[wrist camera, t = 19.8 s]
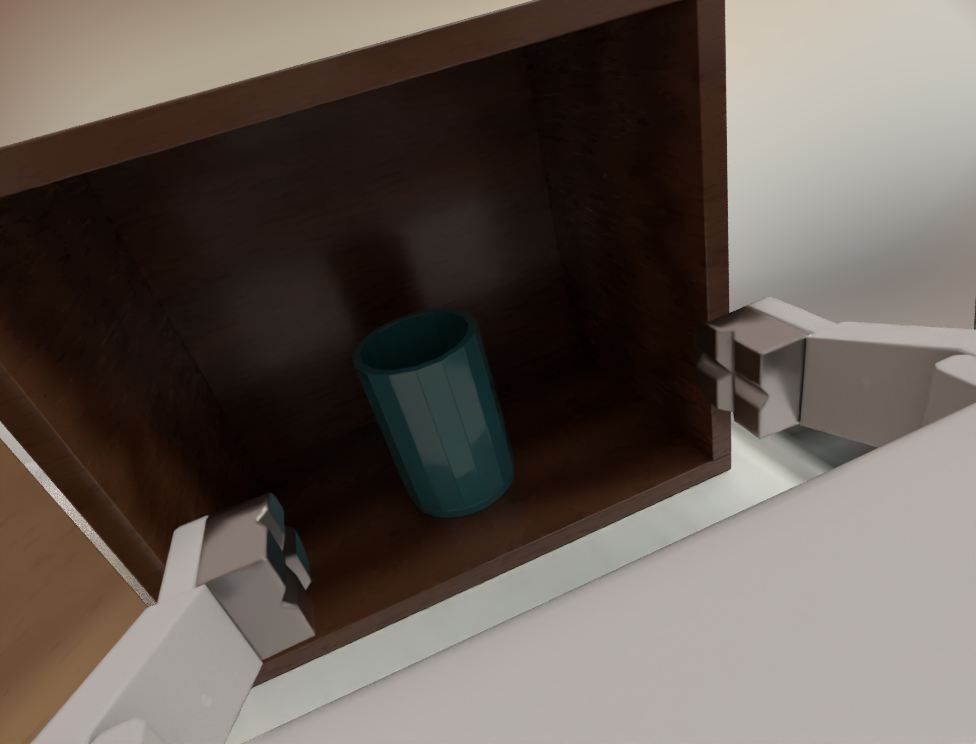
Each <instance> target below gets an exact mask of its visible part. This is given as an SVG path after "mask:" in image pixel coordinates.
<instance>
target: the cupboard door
mask: <svg viewBox="0 0 976 744" xmlns="http://www.w3.org/2000/svg"><path fill="white" fill-rule="evenodd" d="M146 608H148V606H147V605H146V604H145V603H144V601H143V600H142V599H141V598H140V597H139V596H138V595H137V593H136V592H135V591H134V590H133V589H132V588H131V587H130V585H129V584H128V583H127V582H126V581H125V580H124V579H123V577H122V576H121V575H120V574H119V573H118V572H117V571H116V569H115V568H114V567H113V566H112V565H111V564H110V563H109V561H108V560H107V559H106V558H105V557H104V556H103V555H102V554H101V552H100V551H99V550H98V549H97V548H96V547H95V546H94V544H93V543H92V542H91V541H90V540H89V539H88V538H87V536H86V535H85V534H84V533H83V532H82V531H81V530H80V528H79V527H78V526H77V525H76V524H75V523H74V522H73V520H72V519H71V518H70V517H69V516H68V515H67V514H66V513H65V511H64V510H63V509H62V508H61V507H60V506H59V505H58V503H57V502H56V501H55V500H54V499H53V498H52V497H51V495H50V494H49V493H48V492H47V491H46V490H45V489H44V487H43V486H42V485H41V484H40V483H39V482H38V481H37V479H36V478H35V477H34V476H33V475H32V474H31V473H30V471H29V470H28V469H27V468H26V467H25V466H24V465H23V464H22V462H21V461H20V460H19V459H18V458H17V457H16V456H15V455H14V453H12V451H11V450H10V449H9V448H8V446H7V445H6V444H5V443H4V442H3V441H2V440H1V438H0V744H30V743H31V742H32V741H33V740H34V739H35V737H36V736H37V735H38V734H39V733H40V732H41V730H42V729H43V728H44V727H45V726H46V725H47V723H48V722H49V721H50V720H51V719H52V718H53V716H54V715H55V714H56V713H57V712H58V711H59V709H60V708H61V707H62V706H63V705H64V704H65V702H66V701H67V700H68V699H69V698H70V697H71V696H72V694H73V693H74V692H75V691H76V690H77V689H78V687H79V686H80V685H81V684H82V683H83V682H84V680H85V679H86V678H87V677H88V676H89V675H90V673H91V672H92V671H93V670H94V669H95V668H96V666H97V665H98V664H99V663H100V662H101V661H102V659H103V658H104V657H105V656H106V655H107V654H108V652H109V651H110V650H111V649H112V648H113V647H114V645H115V644H116V643H117V642H118V641H119V640H120V638H121V637H122V636H123V635H124V634H125V633H126V631H127V630H128V629H129V628H130V627H131V626H132V624H133V623H134V622H135V621H136V620H137V619H138V617H139V616H140V615H141V614H142V613H143V612H144V610H145V609H146Z"/></svg>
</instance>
